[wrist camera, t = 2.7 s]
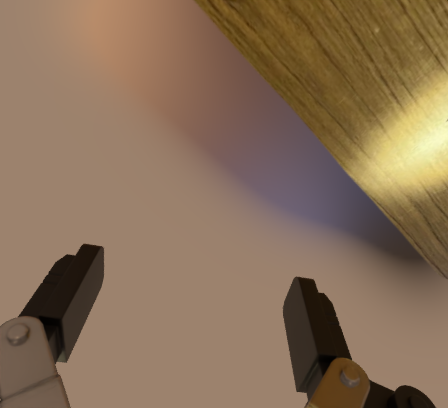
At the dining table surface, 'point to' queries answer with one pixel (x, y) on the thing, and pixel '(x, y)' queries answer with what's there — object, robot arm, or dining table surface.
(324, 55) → the dining table surface
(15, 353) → the robot arm
